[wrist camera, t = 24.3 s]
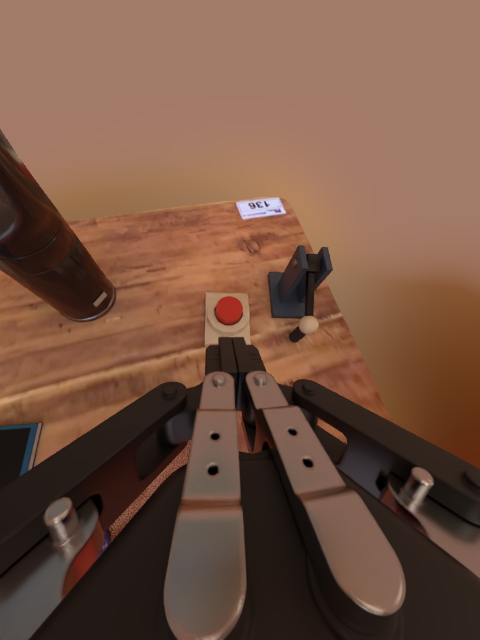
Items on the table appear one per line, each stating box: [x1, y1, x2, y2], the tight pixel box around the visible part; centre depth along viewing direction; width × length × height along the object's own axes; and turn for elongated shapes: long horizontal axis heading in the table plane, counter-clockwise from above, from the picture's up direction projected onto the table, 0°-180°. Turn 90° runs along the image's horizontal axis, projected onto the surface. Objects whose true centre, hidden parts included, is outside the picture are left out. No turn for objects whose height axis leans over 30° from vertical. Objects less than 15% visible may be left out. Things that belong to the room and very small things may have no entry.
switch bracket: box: [268, 245, 333, 318], centre depth 41 cm, size 10×8×13 cm
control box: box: [205, 292, 251, 347], centre depth 41 cm, size 10×8×4 cm
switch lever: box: [299, 254, 321, 335], centre depth 37 cm, size 13×3×3 cm, turn 2°
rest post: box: [289, 326, 306, 342], centre depth 41 cm, size 2×2×5 cm
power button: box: [216, 296, 243, 325], centre depth 38 cm, size 4×4×2 cm
